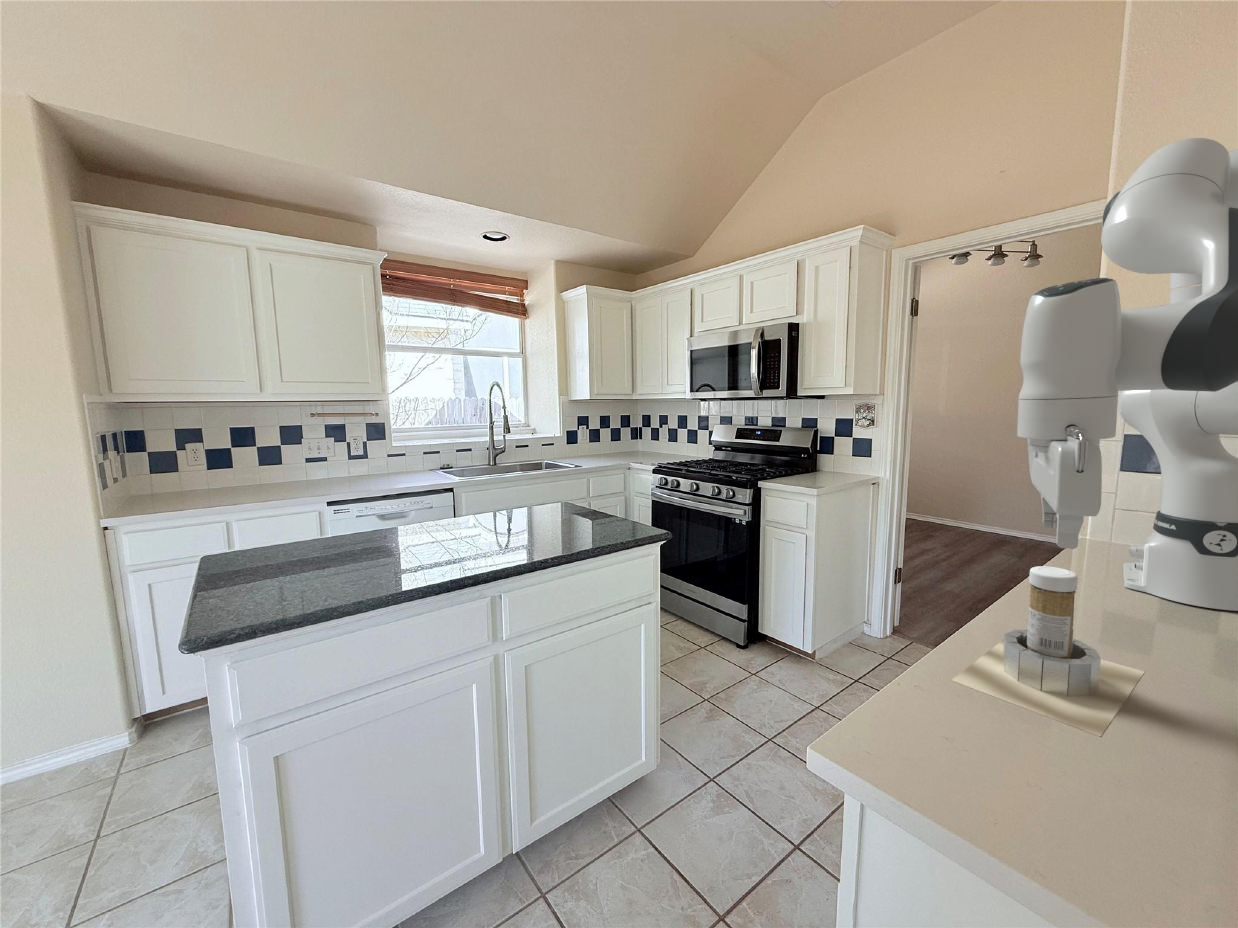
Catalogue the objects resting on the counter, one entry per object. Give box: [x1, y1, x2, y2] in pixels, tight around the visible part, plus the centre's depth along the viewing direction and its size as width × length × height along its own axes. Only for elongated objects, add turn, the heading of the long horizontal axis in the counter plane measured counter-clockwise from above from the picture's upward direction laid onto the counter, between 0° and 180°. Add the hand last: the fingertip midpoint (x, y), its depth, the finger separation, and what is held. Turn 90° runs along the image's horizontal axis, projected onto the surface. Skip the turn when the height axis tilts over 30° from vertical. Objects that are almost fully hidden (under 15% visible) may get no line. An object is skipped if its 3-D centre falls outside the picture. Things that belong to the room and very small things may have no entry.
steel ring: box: [1003, 629, 1102, 697], centre depth 64 cm, size 9×9×4 cm
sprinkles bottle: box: [1027, 565, 1079, 659], centre depth 64 cm, size 5×5×13 cm
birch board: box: [950, 638, 1145, 738], centre depth 65 cm, size 20×14×1 cm
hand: (1058, 536), depth 62 cm, fingers open, 8 cm apart
